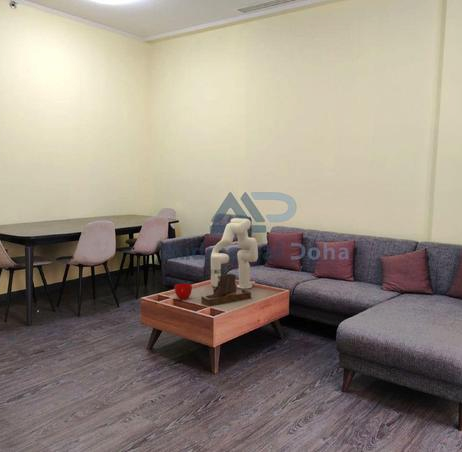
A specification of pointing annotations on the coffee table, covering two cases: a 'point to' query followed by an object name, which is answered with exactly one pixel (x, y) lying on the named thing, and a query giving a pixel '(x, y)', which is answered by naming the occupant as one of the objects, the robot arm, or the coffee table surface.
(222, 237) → the robot arm
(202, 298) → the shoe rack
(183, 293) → the ceramic cup
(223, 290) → the boot
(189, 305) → the coffee table surface
